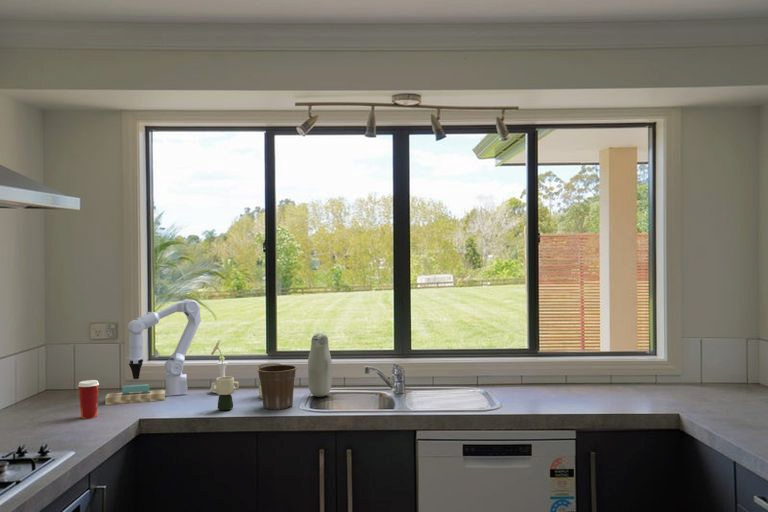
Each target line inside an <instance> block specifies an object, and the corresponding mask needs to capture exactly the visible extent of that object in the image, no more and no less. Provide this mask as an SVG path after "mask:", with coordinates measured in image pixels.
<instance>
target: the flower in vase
mask: <svg viewBox="0 0 768 512" xmlns="http://www.w3.org/2000/svg"><path fill="white" fill-rule="evenodd" d="M220 343H221V339H218V340H217V342H216V344H215V346H214V348H213V349H212V351H211V356H213V355H214V354H215V353H216V351H217V350H218V352H219V353H220V355H219V360H218V362H216V364H217V366H218V368H219V377H226V367H227V365H228V363H229V362H228V361H224V360H225V359H226V357H224V355H223V354H222V352H221V349H220V347H219V345H220ZM235 387H236V385H234V388H235ZM214 389H216V385H214ZM209 391H210V392H212V393H214V394H217V392H216V391H212V390H211V387H210V389H209Z"/></svg>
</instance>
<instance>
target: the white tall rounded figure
mask: <svg viewBox="0 0 768 512" xmlns="http://www.w3.org/2000/svg"><path fill="white" fill-rule="evenodd" d="M310 343H311V345H310V350H309V353H308V358H307V377H308V378H307V381H308V382H307V383H308V390H309V392H310V394H311V395H312V396H314V397H318V398H321V397H326V396H327V395H329V393H330V392H331V389H332V373H333V372H332V367H333V366H332V365H333V363H332V362H333V361H332V356H331V351H330V346H329V339H328V336H327V335H326V334H325V333H315V334H313V336H312V338H311V341H310Z"/></svg>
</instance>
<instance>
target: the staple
mask: <svg viewBox="0 0 768 512" xmlns="http://www.w3.org/2000/svg"><path fill="white" fill-rule="evenodd" d="M148 391H150V383H146V384H145V383H144V384H130V385H122V386H121V393H123V395H129V392H143V394H148Z"/></svg>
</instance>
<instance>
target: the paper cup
mask: <svg viewBox="0 0 768 512" xmlns="http://www.w3.org/2000/svg"><path fill="white" fill-rule="evenodd" d="M99 385H100V383H99V381H98V380H97V379H89V380H82V381H79V383H78V385H77V387H78V391H79V392H78V393H79V406H80V417H81V419H82V420H90V419H94V418H97V417H98V404H99V403H98V402H99V401H98V400H99Z"/></svg>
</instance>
